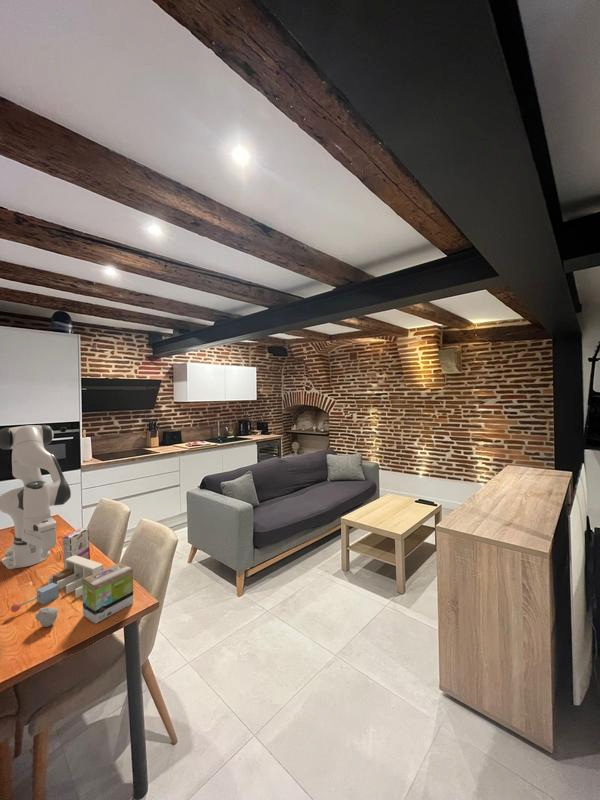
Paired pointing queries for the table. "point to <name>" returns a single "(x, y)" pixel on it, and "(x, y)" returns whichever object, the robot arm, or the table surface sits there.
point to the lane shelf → (77, 574)
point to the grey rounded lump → (46, 616)
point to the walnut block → (61, 575)
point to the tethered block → (41, 596)
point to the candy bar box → (76, 544)
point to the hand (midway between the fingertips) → (38, 555)
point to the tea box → (107, 592)
